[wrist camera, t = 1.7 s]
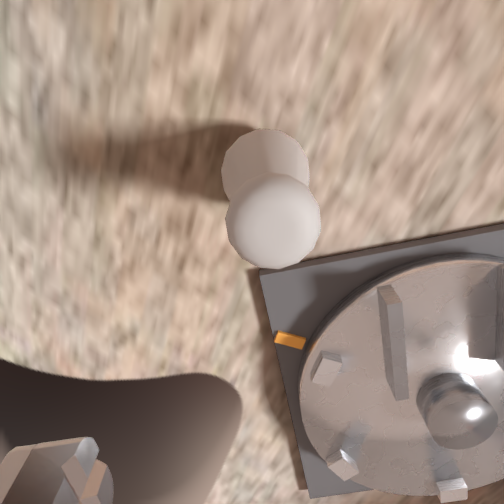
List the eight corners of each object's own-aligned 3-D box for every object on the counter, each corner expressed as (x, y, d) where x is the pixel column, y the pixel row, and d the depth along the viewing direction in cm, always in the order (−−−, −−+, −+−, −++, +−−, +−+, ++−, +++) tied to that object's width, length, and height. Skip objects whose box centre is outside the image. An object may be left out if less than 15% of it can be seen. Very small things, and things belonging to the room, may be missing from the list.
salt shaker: (264, 220, 31) (273, 314, 19) (206, 168, 30) (178, 236, 18) (321, 163, 30) (370, 228, 18) (263, 105, 28) (274, 133, 16)
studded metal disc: (599, 225, 30) (661, 253, 26) (567, 456, 40) (608, 506, 35) (274, 285, 32) (278, 322, 28) (318, 492, 42) (327, 545, 37)
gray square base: (602, 204, 31) (616, 210, 30) (568, 451, 41) (578, 462, 40) (259, 270, 33) (259, 277, 32) (308, 489, 43) (310, 501, 42)
